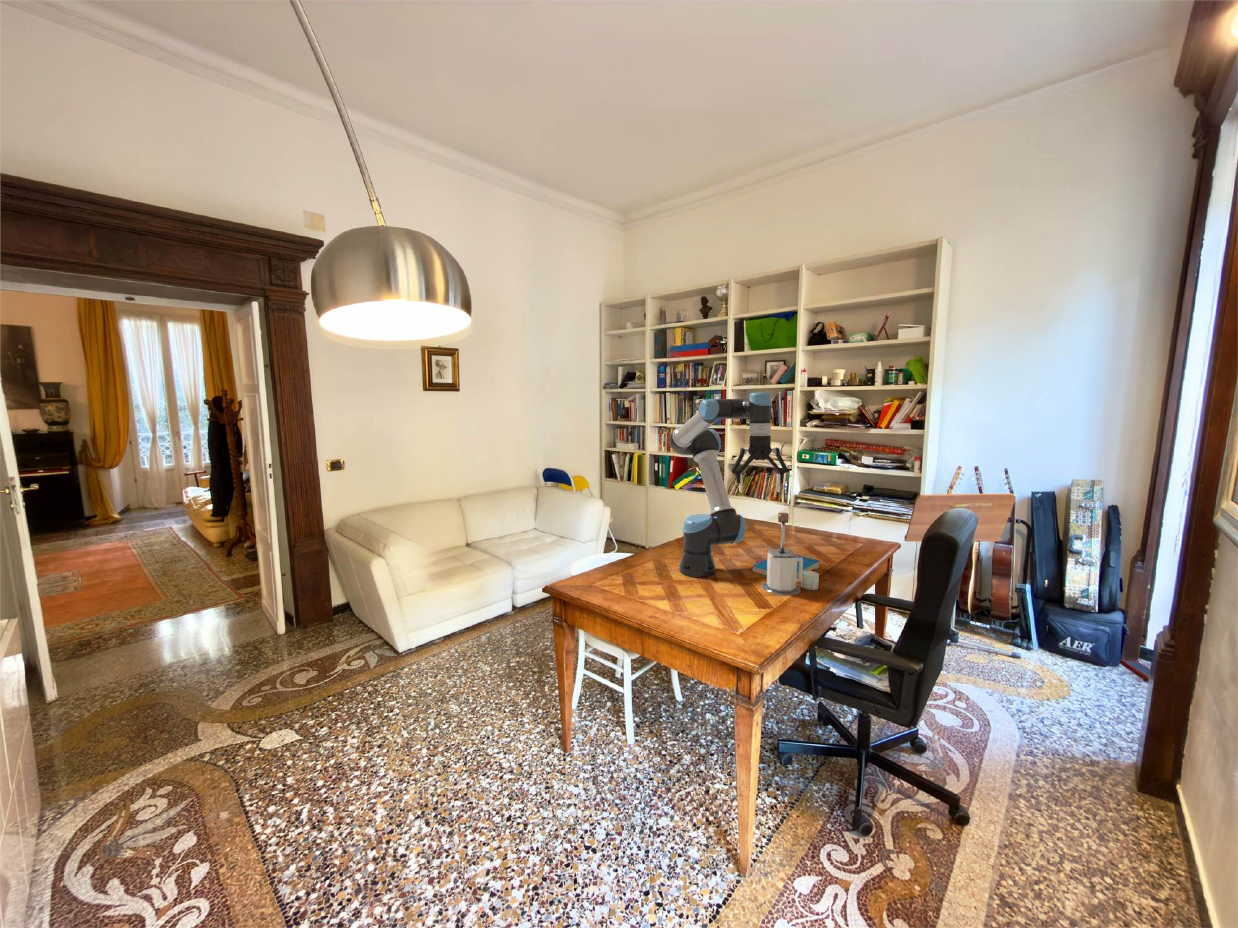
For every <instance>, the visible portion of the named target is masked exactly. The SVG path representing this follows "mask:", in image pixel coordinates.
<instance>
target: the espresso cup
mask: <svg viewBox="0 0 1238 928" xmlns="http://www.w3.org/2000/svg"><path fill="white" fill-rule="evenodd" d="M819 578H820V574H819V573H818V572H817V571H813V570H811V571H803V573H802V582H800V584H801V585H800V586H801V588H803V589H805V590H809V591H816V590H819V581H820V579H819Z"/></svg>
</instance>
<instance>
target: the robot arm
mask: <svg viewBox="0 0 1238 928" xmlns="http://www.w3.org/2000/svg"><path fill="white" fill-rule="evenodd" d="M699 403H700V404H699V405H698V411H697V412H696V413H695V414H694V415H693V416H692V417H691V418H689V419H688V420H686V422H685V423H684V424H683V425H681V426H677V427H676V428H675V429H673V430H672V432H671V433H670V435H669V439H668V440H669V441H668V442H669V445H670V448H671V449H672V451H673V452H675V453H676V454H679V455H683V456H692V458H693V461H695V462H696V463H697V464H698V467H699V471H700V475H701V479H702V483H703V486H704V489H705V493H706V496H707V500H708V504H709V508H710V513H709V514H708V513H702V514H700V513H698V514H697V513H696V514H693V515H689V516H688V517H686V518H685V519H684V521H683V528H682V533H683V535H682V536H683V538H682V539H683V553H682V556H681V560H680V561H679V565H678V567H679V568H678V569H679V572H680V573H681V574H683V575H685V576H687V577H692V578H705V577H710V576H713V575H715V573H716V571H717V569H716V568H717V567H716V563H715V559H714V557H713V554H712V550H713V549H712V546H719V545H728V544H730V545H732V544H735V543H740V542H741V541H742V540H743V539H744V537H745V536H746V535H745V534H746V532H747V531H746V530H747V524H746V520H745V518H744V517H743V516H742V515H741V514H740V513H739V514H737V510H736V508H734V507H733V506H731V501H730V499H729V496H728V491H727V489H726V485H725V482H724V478H723V474H722V472H721V468H720V465H719V461H718V456H719V454H720V451H721V448H722V445H721V444H722V440H721V437H720V434H719V433H718V432H717V431H716V430H715V429H712V428H710V427H711V426H712V425H714V424H715V423H716V422H718V421H719V420H733V419H737V420H738V419H749V431H748V432H749V433H748V434H750V436H749V438H748V439H749V440H748V441H749V447H748V448H744V447H741V448H740V449H739V450H740V452H739V454H738V457H737V458H736V462H735V463H734V465H733V467H732V468H731V473H732V474H735V475H736V477H735V478H736V483H737V484H738V486H739V487H738V491H739V493H743V489H744V488H743V487H744V486H743V480H744V479H743V474H742V473H743V472H744V471H745V470H746V468H747V467H748V466H749V465H750V464H751V462H753V461H767V462H769V464H770V465H771V466H772V467H773V468H774V469H775V470H776V472H777V473H776V485H775V487H776V489H775V491H776V492H777V493H781V484H783V482H784V474H786V473H789V468H788V467H787V465H786V463H785V460H784V458H783V457H782V455H781V452H780V451H781V450H780V448H779V447H774V448H773V447H771V443H772V441H771V435H770V434H771V433H772V427H771V424H772V423H771V422H772V404H773V403H772V394H771V392H769V391H768V392H765V391H763V392H761V391H760V392H759V391H758V392H752V393H750V394H749V398H708V399H702V400H701V401H700V402H699ZM771 453H773V454H774V455H775V457H776V458H777V461H778V463H779V464H780V466H781V467H779V465H778V464H777V463H776V462H775V461H774V459H773V458H772V457H771V456H770V455H771ZM747 454H749V456H748V458H747V459H746V460H745V461H744V462H743V463H742V465H741V462H742V460H743V458H744V456H745V455H747ZM739 466H740V467H739Z"/></svg>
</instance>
